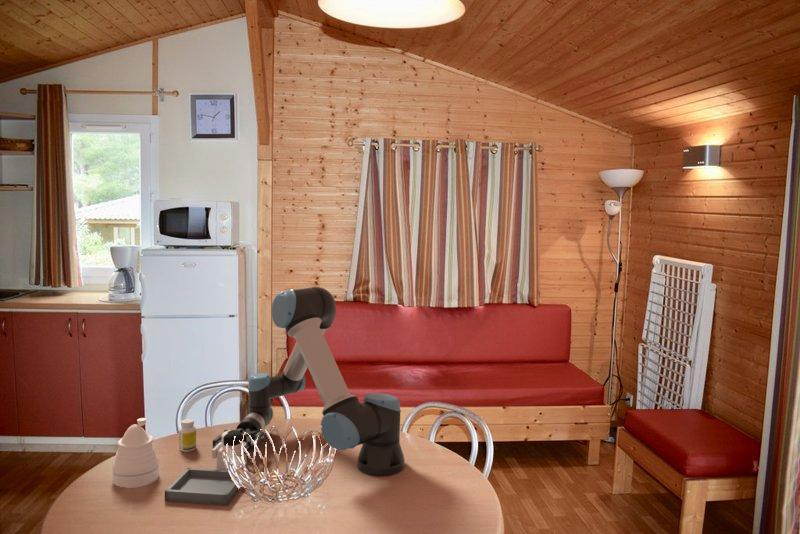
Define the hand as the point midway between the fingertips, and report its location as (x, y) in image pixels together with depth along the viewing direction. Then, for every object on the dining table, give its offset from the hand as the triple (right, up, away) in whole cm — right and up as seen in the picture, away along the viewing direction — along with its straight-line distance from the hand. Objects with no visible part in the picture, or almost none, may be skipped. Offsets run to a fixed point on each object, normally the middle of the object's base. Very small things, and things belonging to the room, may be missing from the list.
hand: (225, 455), depth 191 cm
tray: (-3, -8, -9) cm, 12 cm away
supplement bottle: (-18, -4, +20) cm, 28 cm away
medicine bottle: (0, -6, +6) cm, 8 cm away
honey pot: (-27, -7, -2) cm, 27 cm away
